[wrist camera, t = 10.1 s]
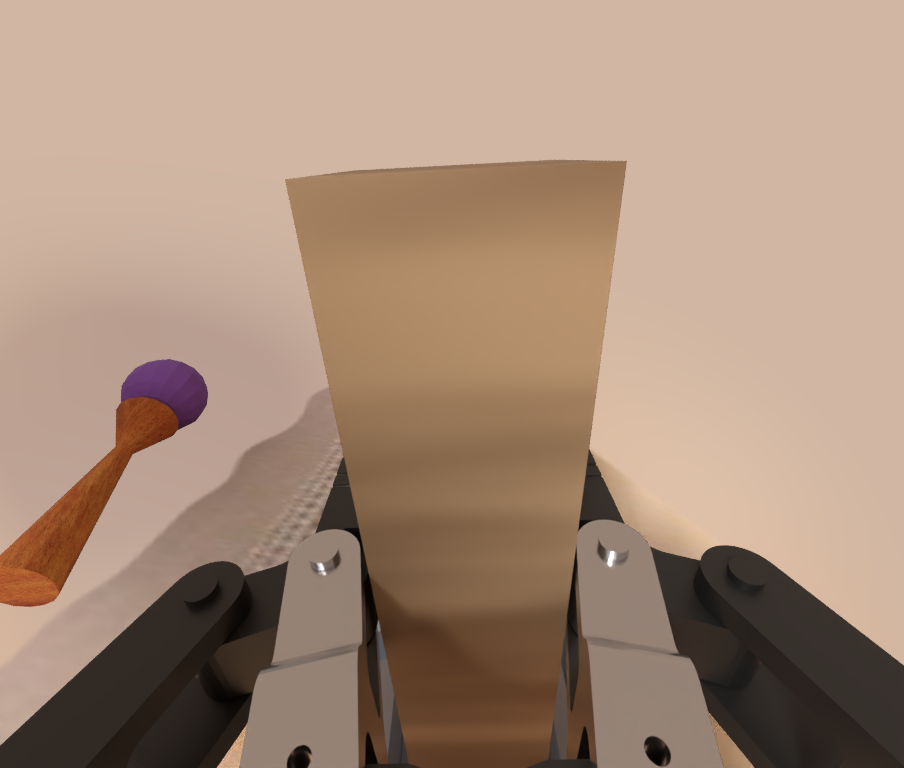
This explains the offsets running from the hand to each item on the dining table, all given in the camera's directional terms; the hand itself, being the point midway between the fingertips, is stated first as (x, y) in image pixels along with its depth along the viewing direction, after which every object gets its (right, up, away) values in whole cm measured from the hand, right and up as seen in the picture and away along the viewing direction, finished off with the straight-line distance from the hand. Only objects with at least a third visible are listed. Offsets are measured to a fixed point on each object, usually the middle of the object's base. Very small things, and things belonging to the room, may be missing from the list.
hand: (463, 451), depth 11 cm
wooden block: (0, -8, +1) cm, 8 cm away
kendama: (-23, -5, +19) cm, 30 cm away
